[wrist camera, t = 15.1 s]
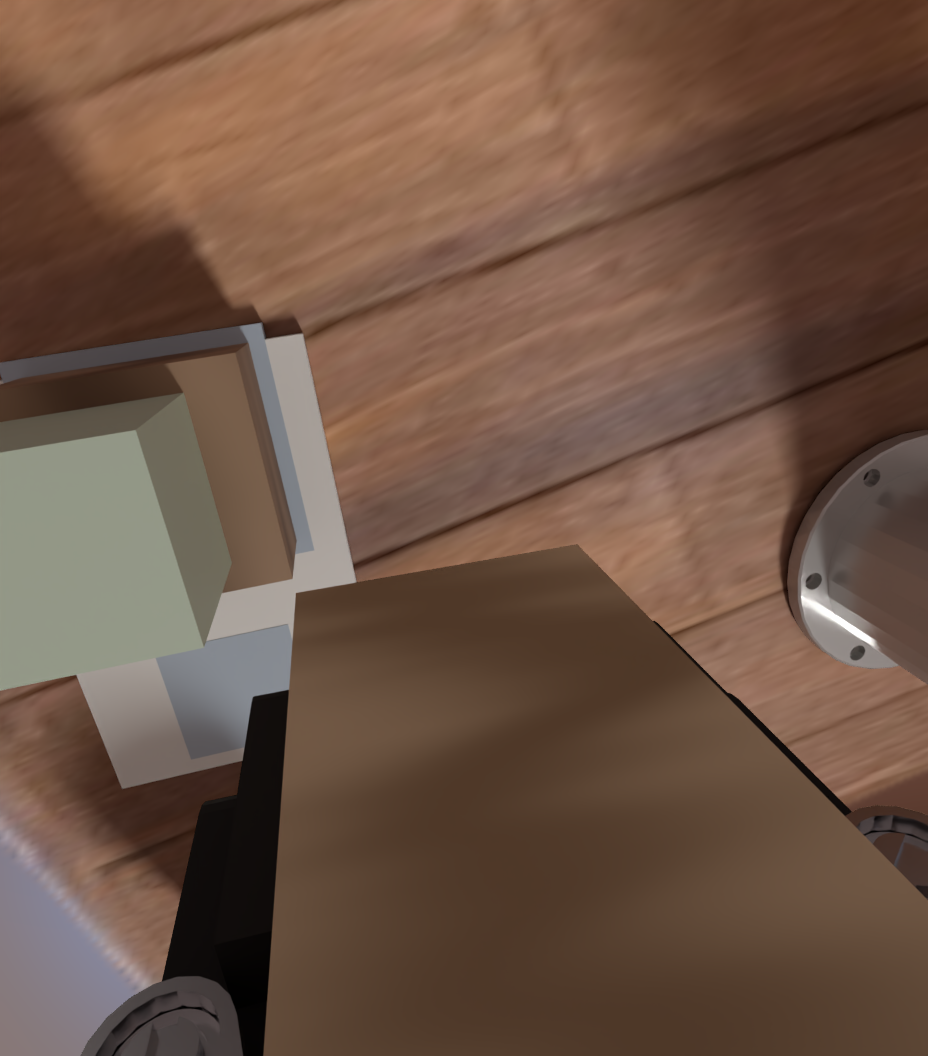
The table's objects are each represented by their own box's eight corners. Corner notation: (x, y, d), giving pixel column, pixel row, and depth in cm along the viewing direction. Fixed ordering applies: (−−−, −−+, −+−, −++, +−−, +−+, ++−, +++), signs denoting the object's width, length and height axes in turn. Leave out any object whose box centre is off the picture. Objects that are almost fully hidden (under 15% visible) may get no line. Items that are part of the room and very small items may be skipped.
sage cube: (183, 392, 22) (135, 430, 16) (231, 563, 24) (203, 647, 18) (-17, 424, 21) (-140, 476, 15) (51, 598, 23) (-35, 697, 18)
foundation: (248, 342, 25) (235, 352, 22) (296, 540, 28) (292, 578, 25) (20, 378, 24) (-34, 395, 21) (94, 579, 27) (58, 626, 24)
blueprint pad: (299, 316, 26) (298, 317, 25) (386, 719, 33) (387, 727, 32) (-38, 368, 24) (-47, 370, 24) (125, 779, 31) (122, 789, 31)
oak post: (576, 544, 11) (1092, 1069, 4) (586, 767, 13) (960, 1444, 5) (296, 593, 10) (242, 1354, 3) (343, 822, 12) (384, 1686, 5)
